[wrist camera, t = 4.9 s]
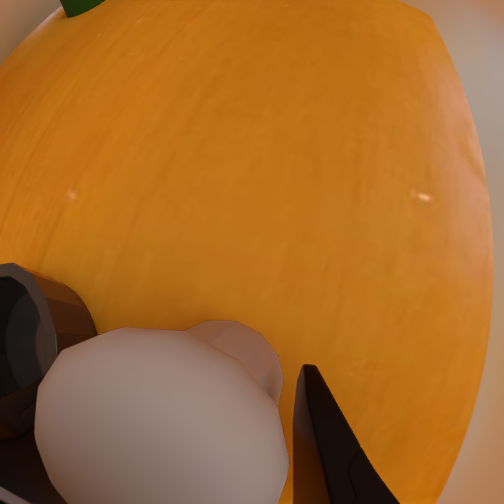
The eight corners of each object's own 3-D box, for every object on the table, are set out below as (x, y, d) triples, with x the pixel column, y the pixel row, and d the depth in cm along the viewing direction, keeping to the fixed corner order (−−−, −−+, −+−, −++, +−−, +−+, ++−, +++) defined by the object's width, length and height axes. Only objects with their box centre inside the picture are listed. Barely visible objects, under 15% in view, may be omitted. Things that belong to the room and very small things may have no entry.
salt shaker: (264, 432, 14) (280, 619, 1) (165, 406, 14) (-5, 504, 2) (289, 335, 16) (408, 321, 3) (188, 310, 16) (19, 224, 4)
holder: (125, 395, 15) (85, 409, 10) (32, 427, 13) (-8, 437, 9) (73, 256, 17) (33, 233, 13) (-5, 310, 16) (-45, 300, 12)
